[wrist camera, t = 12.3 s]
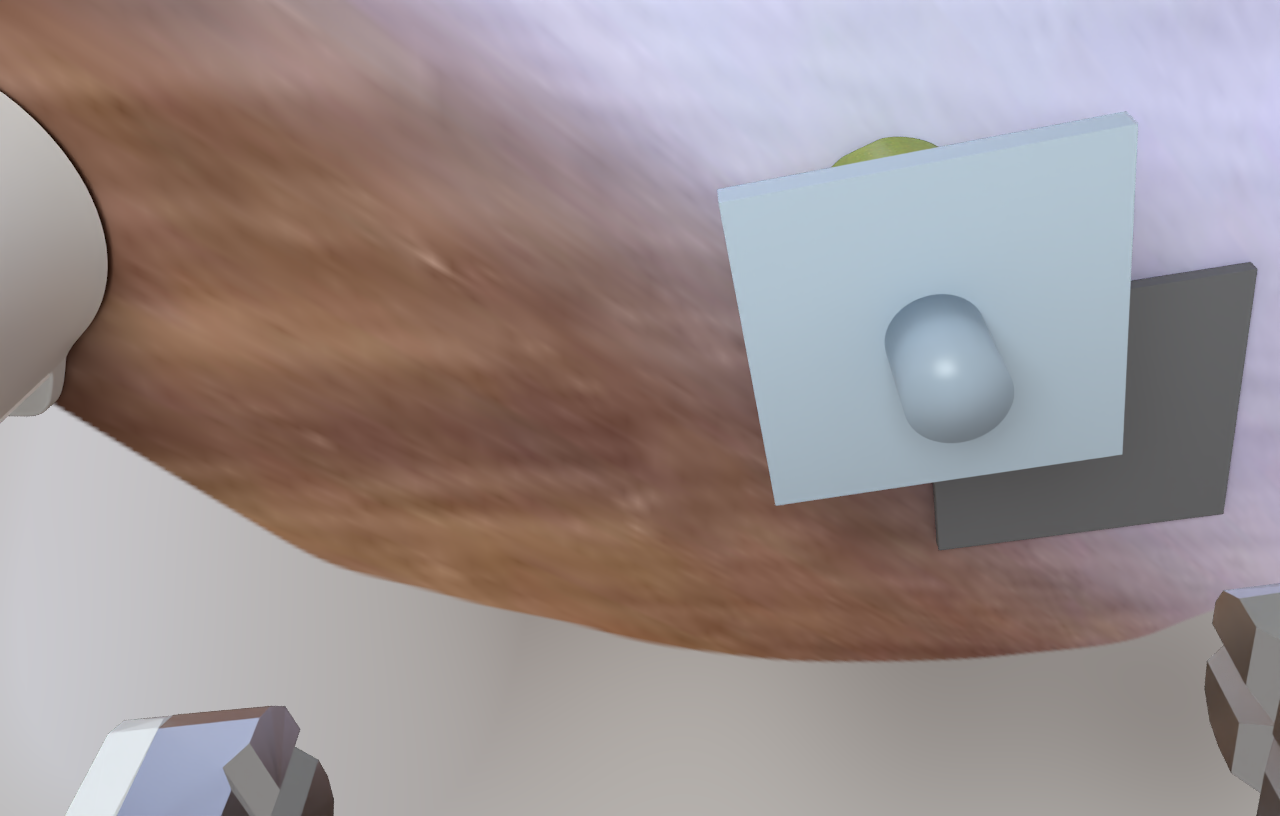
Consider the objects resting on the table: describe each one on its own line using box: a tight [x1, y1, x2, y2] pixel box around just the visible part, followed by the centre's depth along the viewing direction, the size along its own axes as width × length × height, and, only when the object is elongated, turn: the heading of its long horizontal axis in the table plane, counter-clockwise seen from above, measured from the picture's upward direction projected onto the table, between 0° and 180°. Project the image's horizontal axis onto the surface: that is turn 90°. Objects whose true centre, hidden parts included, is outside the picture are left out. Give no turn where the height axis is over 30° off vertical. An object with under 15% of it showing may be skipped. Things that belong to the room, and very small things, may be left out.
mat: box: [933, 262, 1257, 550], centre depth 48 cm, size 13×13×1 cm
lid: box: [717, 111, 1138, 506], centre depth 34 cm, size 12×12×4 cm
